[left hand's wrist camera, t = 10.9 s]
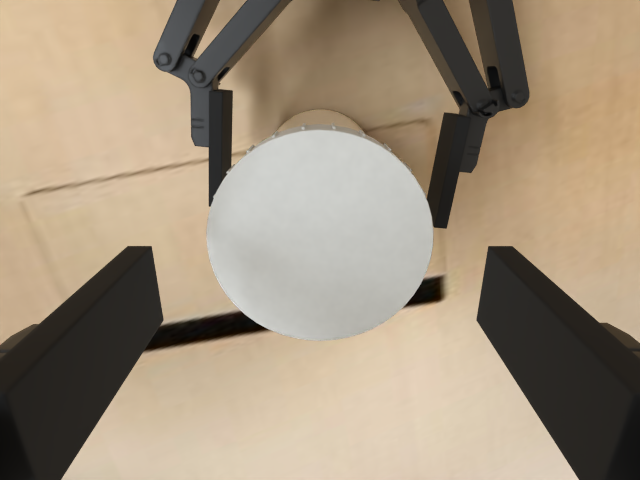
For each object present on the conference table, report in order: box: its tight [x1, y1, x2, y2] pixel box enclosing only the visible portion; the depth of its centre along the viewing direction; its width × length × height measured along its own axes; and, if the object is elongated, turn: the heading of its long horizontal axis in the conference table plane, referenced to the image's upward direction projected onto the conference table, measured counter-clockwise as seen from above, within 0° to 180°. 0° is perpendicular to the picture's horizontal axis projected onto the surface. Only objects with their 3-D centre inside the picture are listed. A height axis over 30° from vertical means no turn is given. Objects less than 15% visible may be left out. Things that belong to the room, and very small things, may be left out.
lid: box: [207, 123, 433, 341], centre depth 17 cm, size 9×9×2 cm
